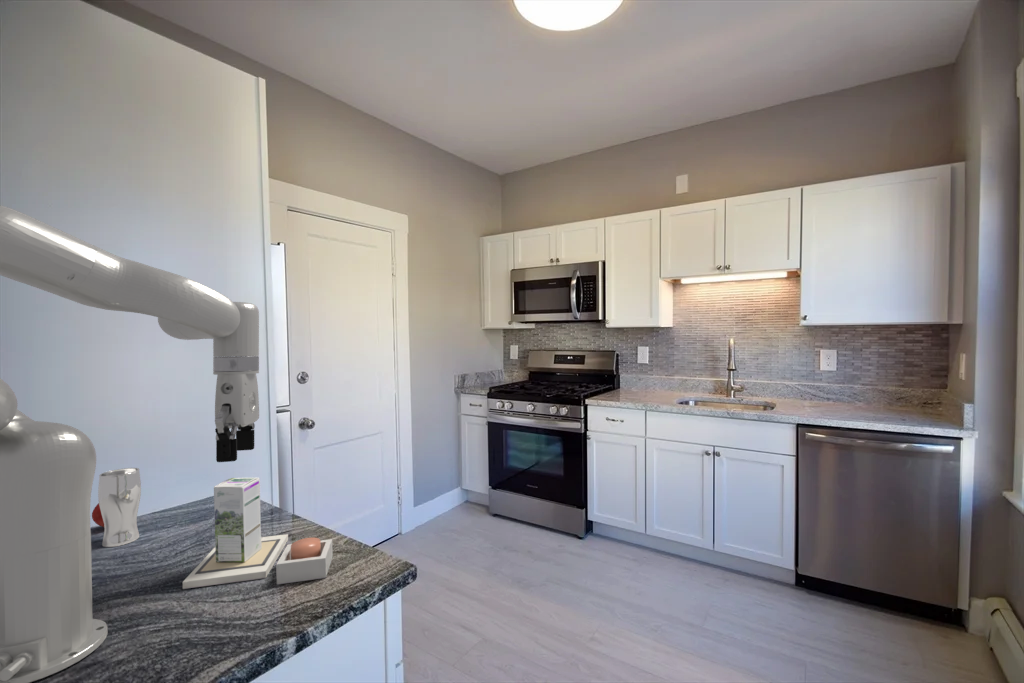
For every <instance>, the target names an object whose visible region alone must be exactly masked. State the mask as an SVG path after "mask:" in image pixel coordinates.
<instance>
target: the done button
mask: <svg viewBox="0 0 1024 683" xmlns="http://www.w3.org/2000/svg"><path fill="white" fill-rule="evenodd" d="M320 540H321V539H320V538H319V537H305V538H301V539H298V540H296V541H294V542H292V543H291V544H292V545H291V560H295V559H303V558H311V557H319V556H320V555H321V542H320Z"/></svg>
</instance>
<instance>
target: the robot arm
mask: <svg viewBox="0 0 1024 683" xmlns="http://www.w3.org/2000/svg"><path fill="white" fill-rule="evenodd" d="M0 276H2V277H4V278H7V279H9V280H13V281H15V282H18V283H20V284H25V285H26V286H27V285H28V286H31V287H33V288H35V289H39V290H42V291H44V292H46V293H50V294H52V295H56V296H59V297H61V298H64V299H66V300H69V301H73V302H75V303H77V304H80V305H83V306H88V307H91V308H96V309H101V310H104V311H105V310H107V311H114V312H115V311H116V312H126V313H136V314H142V315H147V316H152V317H156V318H157V323H158V325H159V327H160V329H161V330H162V331H163V332H164V333H165V334H166V335H168V336H170V337H172V338H174V339H178V340H183V341H186V340H187V341H189V340H191V341H193V340H196V341H197V340H210V339H211V340H213V343H212V344H213V345H212V349H213V352H212V353H213V356H212V358H213V359H212V360H213V361H212V362H213V364H212V365H213V367H212V368H213V369H212V370H213V371H212V372H213V373H212V375H213V376H216V385H215V395H214V396H215V397H214V398H215V399H214V424H215V431H214V432H215V434H216V435H215V446H216V452H215V453H216V454H215V456H216V458H215V460H216V462H217V463H226V462H227V463H228V462H235V461H237V460H238V451H240V452H241V451H252V450H254V449H255V426H256V424H255V422H257V421H258V420H259V418H260V401H259V399H260V398H259V386H258V377H257V376H258V375H257V374H259V373H260V313H259V312H260V311H259V308H258V306H257V305H256V304H253V303H251V302H244V301H232V299H230V298H229V297H228V296H226V295H225V294H222V293H221V292H218V291H216V290H214V289H213V288H210V287H208V286H206V285H204V284H202V283H199V282H198V281H195V280H193V279H190V278H189V277H186V276H182V275H179V274H177V273H173V272H172V271H171V272H170V271H167V270H164V269H160V268H156V267H153V266H152V265H151V266H150V265H147V264H144V263H141V262H138V261H135V260H131V259H127V258H124V257H121V256H119V255H116V254H113V253H111V252H109V251H108V250H105V249H103V248H100V247H98V246H96V245H94V244H91V243H90V242H87V241H85V240H83V239H81V238H78V237H76V236H74V235H72V234H69V233H67V232H65V231H62V230H61V229H58V228H56V227H54V226H52V225H50V224H48V223H45V222H44V221H41V220H38V219H36V218H34V217H32V216H30V215H28V214H25V213H23V212H21V211H18V210H16V209H14V208H10V207H8V206H4V205H2V204H1V205H0ZM17 399H18V398H17V396H16V394H15V392H14V391H13V389H12V388H11V386H10V385H9V384H8V383H7V382H6V381H4V380H3V379H2V378H1V377H0V683H32V682H36V681H39V680H41V679H44V678H46V677H49V676H52V675H55V674H57V673H59V672H61V671H63V670H65V669H67V668H68V667H71V666H73V665H74V664H76V663H78V662H80V661H81V660H83V659H84V658H86V657H88V656H89V655H90V654H92V653H93V652H94V651H96V650H97V649H98V648H99V647H100V646H101V645H102V644H103V643H104V641H105V640H106V639H107V636H108V634H109V633H108V632H109V631H108V624H107V623H106V622H105V621H103V620H102V619H97V618H94V617H93V582H92V581H93V580H92V579H93V577H92V576H93V575H92V574H93V573H92V572H93V571H92V570H93V569H92V567H93V566H92V530H91V502H92V500H91V499H92V490H93V485H94V483H93V482H94V479H95V478H94V477H95V473H96V469H97V468H96V467H97V452H96V447H95V445H94V443H93V442H92V440H91V439H90V437H89V436H87V435H86V434H85V433H84V432H83V431H81V430H80V429H77V428H76V427H73V426H71V425H68V424H65V423H64V424H63V423H58V422H53V421H52V422H50V421H40V420H36V421H35V420H34V419H32V418H30V417H29V416H27V415H26V414H24V413H23V412H22V411H20V410H19V409H18V400H17Z"/></svg>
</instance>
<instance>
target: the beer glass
mask: <svg viewBox="0 0 1024 683" xmlns="http://www.w3.org/2000/svg"><path fill="white" fill-rule="evenodd" d="M98 476H99V477H98V490H97V491H98V492H97V495H98V496H97V497H98V503H99V506H100V510H101V514H102V518H103V522H104V527H103V528H104V533H103V538H102V543H101V545H102V547H104V548H114V547H119V546H124V545H127V544H131V543H133V542H135V541H137V540H138V539H139V538H140V532H139V528H138V525H137V524H138V522H137V521H138V513H139V506H140V503H141V495H142V485H141V483H142V482H141V481H142V480H141V474H140V468H138V467H124V468H118V469H117V468H116V469H113V470H109V471H105V472H101V473H100V474H99V475H98Z"/></svg>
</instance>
